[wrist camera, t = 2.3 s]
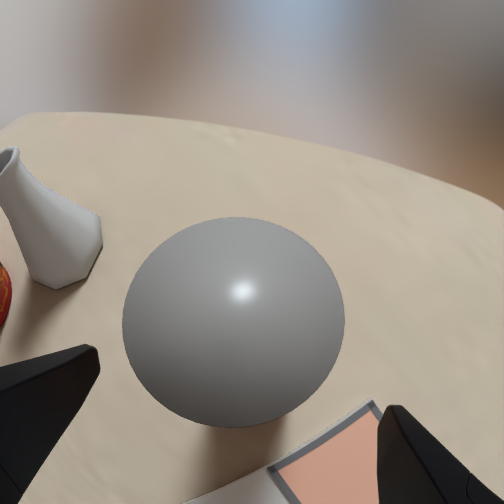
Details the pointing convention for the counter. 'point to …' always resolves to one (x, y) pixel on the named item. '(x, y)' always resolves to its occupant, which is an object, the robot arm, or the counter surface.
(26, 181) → the flask
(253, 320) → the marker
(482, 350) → the counter surface
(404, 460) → the robot arm
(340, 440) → the grey sorting board
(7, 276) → the canned food
